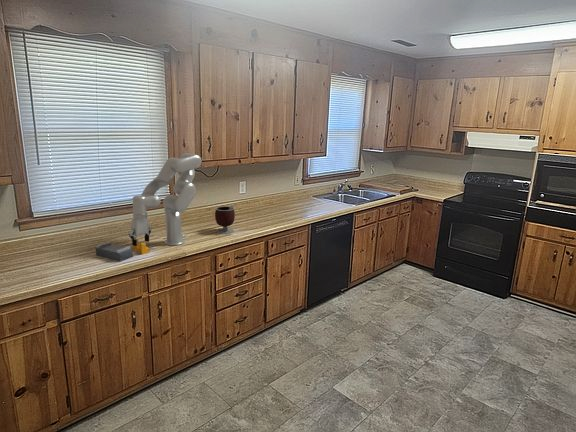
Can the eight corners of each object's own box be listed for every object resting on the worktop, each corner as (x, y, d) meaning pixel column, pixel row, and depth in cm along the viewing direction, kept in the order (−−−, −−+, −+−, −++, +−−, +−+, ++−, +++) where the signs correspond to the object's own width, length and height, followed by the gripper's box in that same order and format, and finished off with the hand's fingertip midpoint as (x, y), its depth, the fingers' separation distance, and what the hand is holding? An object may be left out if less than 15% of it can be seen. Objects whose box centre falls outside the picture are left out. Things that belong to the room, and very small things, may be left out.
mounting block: (109, 250, 237) (108, 241, 235) (133, 256, 228) (132, 246, 227) (96, 255, 229) (95, 245, 228) (120, 261, 221) (119, 251, 219)
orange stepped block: (149, 253, 236) (148, 242, 234) (142, 254, 233) (141, 244, 231) (139, 248, 244) (139, 238, 242) (133, 249, 241) (132, 239, 239)
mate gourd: (219, 235, 272) (218, 207, 267) (212, 229, 284) (212, 203, 279) (239, 232, 279) (239, 205, 274) (232, 227, 291) (232, 201, 286)
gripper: (146, 212, 242) (147, 239, 246) (123, 217, 227) (124, 245, 231) (155, 214, 239) (156, 241, 243) (133, 219, 224) (134, 248, 228)
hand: (140, 243), depth 237 cm, fingers open, 9 cm apart
